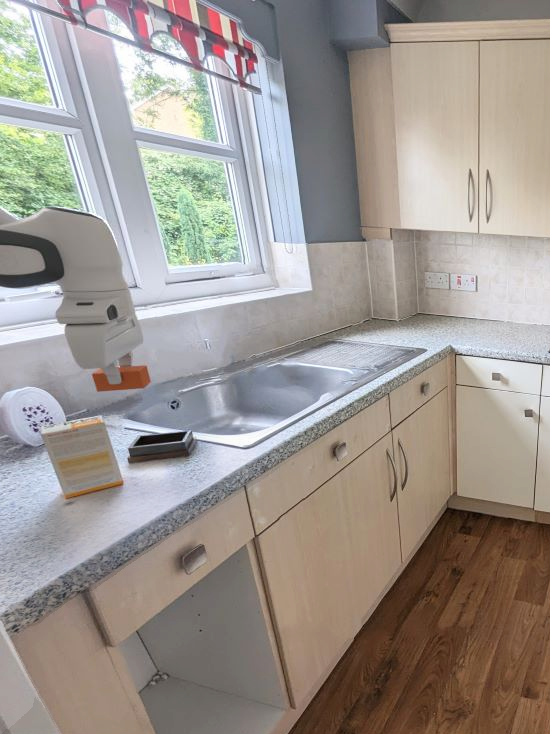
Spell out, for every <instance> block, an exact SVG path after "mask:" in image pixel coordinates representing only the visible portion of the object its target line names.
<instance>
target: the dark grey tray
mask: <svg viewBox="0 0 550 734" xmlns="http://www.w3.org/2000/svg"><path fill="white" fill-rule="evenodd" d="M197 440H198V439H197V437H196V436H194V434H193V430H192V429H187V430H179V431H168V432H159V433H150V434H140V435H137V437H136V438H135V439H134V440H133V441H132V442H131V444H130V445H129V446H128V447H127V450H128V456H127V463H128V464H133V463H141V462H148V461H159V460H164V459H165V460H166V459H173V458H181V457H189V456H191V453H192V452H193V450H194V448H195V446H196V444H197V442H198V441H197Z"/></svg>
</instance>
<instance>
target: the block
mask: <svg viewBox="0 0 550 734" xmlns="http://www.w3.org/2000/svg"><path fill="white" fill-rule="evenodd" d="M117 368H118V370H119V372H120V373H122V376H123V379H124V380H123V381H122V382H121V383H120V384H110V383H109V382H108V379H107V376H106V375H105V373H104V372H103V371H102V370H101V368H98V369H96V371H94V372H93V373H91V376H92V379H93V382H94V383H93V384H94V386H95V388H96V392H98V393H100V392H112V391H113V392H114V391H127V390H141V389H145V388H147V386H149V385H150V383H152V382H151V377H150V373H149V369H148V366H147V365H146V364H143V365H132V366H126V367H119V366H117Z"/></svg>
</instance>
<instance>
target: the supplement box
mask: <svg viewBox="0 0 550 734" xmlns="http://www.w3.org/2000/svg"><path fill="white" fill-rule="evenodd" d="M108 431H109V430H108V428H107V425H106V422H105V420H104V418H103V415H102V414H99V415H94V416H90V417H83V418H78V419H73V420H67V421H61V422H56V423H50V424H45V425H41V426H40V436H41V439H42V441H43V443H44V446H45V449H46V452H47V455H48V456H49V460H50V462H51V465H52V467H53V470H54V472H55V476H56V478H57V481H58V484H59V486H60V489H61V491H62V493H63V495H64V498H65V499H69V498H70V499H71V498H73V497H77V496H81V495H85V494H88V493H93V492H97V491H100V490H104V489H109V488H111V487H116V486H119V485H123V484H124V480H123V479H124V478H123V476H122V473H121V470H120V466H119V463H118V459H117V457H116V454H115V451H114V448H113V444H112V441H111V438H110V434H109V432H108Z"/></svg>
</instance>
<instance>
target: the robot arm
mask: <svg viewBox="0 0 550 734" xmlns="http://www.w3.org/2000/svg"><path fill="white" fill-rule="evenodd" d="M54 284H56V285H58V286H59V287H60V290H61V292H62V296H63V298H62V299H61V302H60V304H59V307H57V309H56V310H55V312H54V313H55V314H54V315H55V319H56V321H57V323H58V324H59V325H64V329H63V330H64V336H65V339H66V342H67V345H68V347H69V350H70V353H71V355H72V358H73V360H74V362H75V364H76V365H77V366H78V367H79V368H80V369H82V370H95V369H96V370H98V369H100V368H101V370H102V371H103V372H104V373H105V375H106V376H107V379H108V382H109V383H110V384H120V383H121V382H122V381H123V380H124V379H123V376H122V373H120V372H119V370H118V368H117V367H126V366H133V362H134V361H133V359H134V358H133V357H134V355H133V351H134V349H136V348H138V347H139V346H141V345H143V343H144V335H143V332H142V329H141V325H140V322H139V320H138V317H137V314H136V309H135V306H134V301H133V298H132V294H131V290H130V287H129V284H128V282H127V281H126V279H125V277H124V274H123V260H122V255H121V253H120V249H119V246H118V243H117V239H116V238H115V235H114V232H113V230H112V228H111V226H110V225H109V223H108V221H106V219H104V218H103V217H102V216H100V215H98V214H96V213H93V212H89V211H87V210H81V209H77V208H72V207H71V208H69V207H62V206H57V205H48V206H43V207H42V208H41V209H40V210H38V211H36V212H35V213H33V214H31V215H28V216H27V217H24V218H21V217H20V216H17V215H16V214H14V213H12V212H11V211H9V210H8V209H6V208H4V207H3V206H1V205H0V287H1V288H6V289H16V290H18V289H19V290H26V289H32V288H35V287H41V286H45V285H54Z"/></svg>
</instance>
